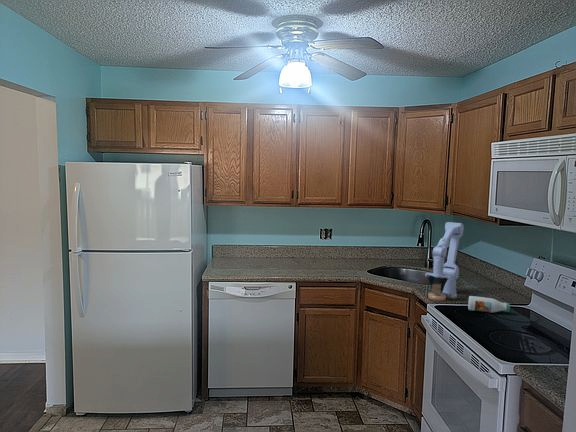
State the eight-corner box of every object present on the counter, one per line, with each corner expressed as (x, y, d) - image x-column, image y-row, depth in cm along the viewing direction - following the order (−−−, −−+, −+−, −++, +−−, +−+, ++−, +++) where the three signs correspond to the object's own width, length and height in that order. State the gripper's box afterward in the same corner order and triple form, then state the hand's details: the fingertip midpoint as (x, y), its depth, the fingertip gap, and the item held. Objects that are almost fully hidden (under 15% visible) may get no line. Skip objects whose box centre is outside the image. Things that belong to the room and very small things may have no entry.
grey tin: (449, 296, 256) (449, 291, 256) (457, 298, 254) (457, 293, 253) (446, 298, 252) (447, 293, 252) (455, 300, 250) (455, 295, 249)
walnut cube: (434, 291, 254) (434, 282, 254) (442, 292, 251) (443, 284, 251) (431, 292, 250) (432, 284, 250) (440, 294, 247) (440, 285, 247)
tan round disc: (430, 295, 258) (431, 291, 258) (447, 298, 253) (448, 294, 252) (425, 299, 250) (426, 295, 250) (443, 302, 244) (443, 298, 244)
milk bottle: (469, 294, 230) (510, 298, 223) (468, 297, 236) (507, 301, 230) (469, 308, 227) (510, 313, 221) (467, 311, 234) (507, 315, 228)
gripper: (424, 266, 250) (423, 289, 252) (449, 270, 242) (448, 293, 243) (427, 264, 256) (426, 286, 257) (452, 268, 248) (451, 290, 249)
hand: (437, 289), depth 251 cm, fingers closed on walnut cube, 5 cm apart
